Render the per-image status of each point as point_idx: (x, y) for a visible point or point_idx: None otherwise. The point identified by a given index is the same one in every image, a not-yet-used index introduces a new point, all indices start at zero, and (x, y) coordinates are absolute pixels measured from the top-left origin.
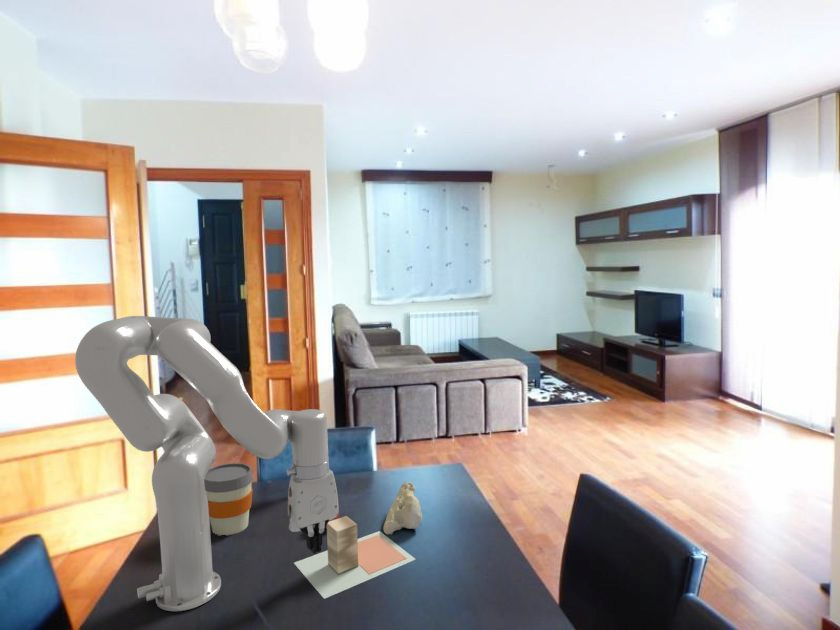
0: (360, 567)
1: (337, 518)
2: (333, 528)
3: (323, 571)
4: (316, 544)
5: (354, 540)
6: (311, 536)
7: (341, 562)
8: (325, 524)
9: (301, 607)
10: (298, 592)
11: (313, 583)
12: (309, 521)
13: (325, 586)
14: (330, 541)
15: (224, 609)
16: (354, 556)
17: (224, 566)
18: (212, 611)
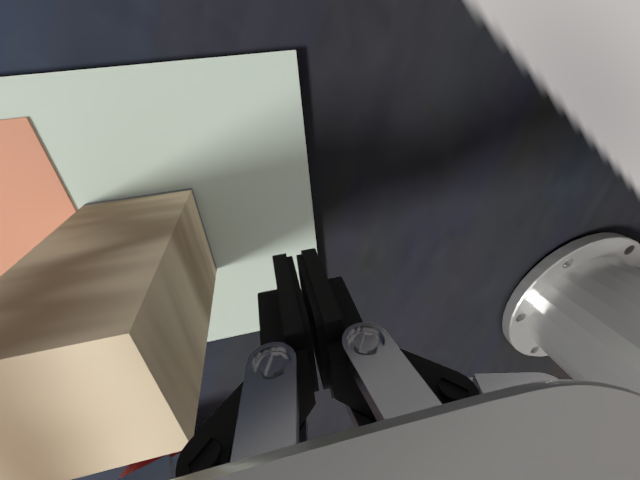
0: (74, 195)
1: (125, 473)
2: (153, 378)
3: (245, 236)
4: (307, 281)
5: (18, 279)
6: (358, 324)
7: (162, 210)
8: (223, 418)
9: (386, 66)
10: (361, 167)
11: (303, 181)
12: (527, 461)
13: (265, 136)
14: (193, 324)
15: (554, 195)
16: (78, 225)
17: (466, 357)
18: (576, 201)
